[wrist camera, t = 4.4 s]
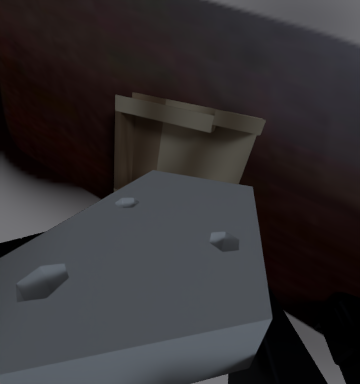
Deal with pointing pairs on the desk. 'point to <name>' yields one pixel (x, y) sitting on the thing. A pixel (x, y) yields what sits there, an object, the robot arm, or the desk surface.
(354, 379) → the robot arm
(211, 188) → the white wedge bracket
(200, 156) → the slotted track
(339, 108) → the desk surface
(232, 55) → the desk surface
